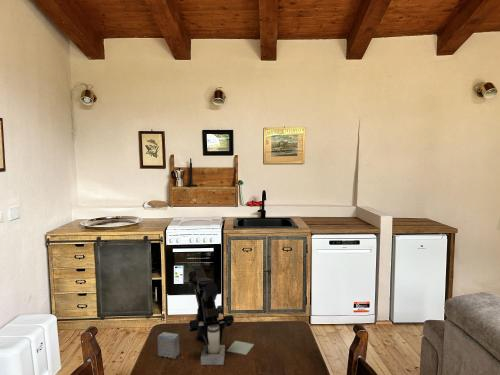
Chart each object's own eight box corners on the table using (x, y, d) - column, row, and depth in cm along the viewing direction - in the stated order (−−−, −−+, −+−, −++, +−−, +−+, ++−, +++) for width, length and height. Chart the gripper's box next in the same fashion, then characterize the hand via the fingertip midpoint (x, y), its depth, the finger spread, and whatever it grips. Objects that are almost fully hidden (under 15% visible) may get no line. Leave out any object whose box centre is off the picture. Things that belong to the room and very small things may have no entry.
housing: (203, 353, 151) (203, 345, 151) (225, 353, 151) (224, 345, 151) (200, 365, 142) (200, 356, 142) (223, 364, 142) (223, 356, 142)
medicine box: (179, 354, 151) (179, 334, 151) (174, 359, 147) (173, 338, 146) (163, 351, 154) (163, 331, 153) (157, 356, 150) (157, 336, 149)
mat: (226, 351, 153) (226, 350, 153) (235, 341, 161) (235, 340, 161) (246, 355, 150) (246, 354, 150) (253, 345, 158) (253, 344, 158)
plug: (205, 359, 146) (205, 328, 145) (211, 353, 150) (211, 323, 150) (216, 362, 144) (216, 330, 143) (222, 356, 148) (221, 325, 148)
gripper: (188, 301, 147) (193, 340, 137) (232, 296, 152) (240, 333, 142) (186, 312, 155) (190, 350, 145) (228, 307, 160) (235, 343, 150)
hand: (214, 343), depth 145 cm, fingers closed on plug, 5 cm apart
